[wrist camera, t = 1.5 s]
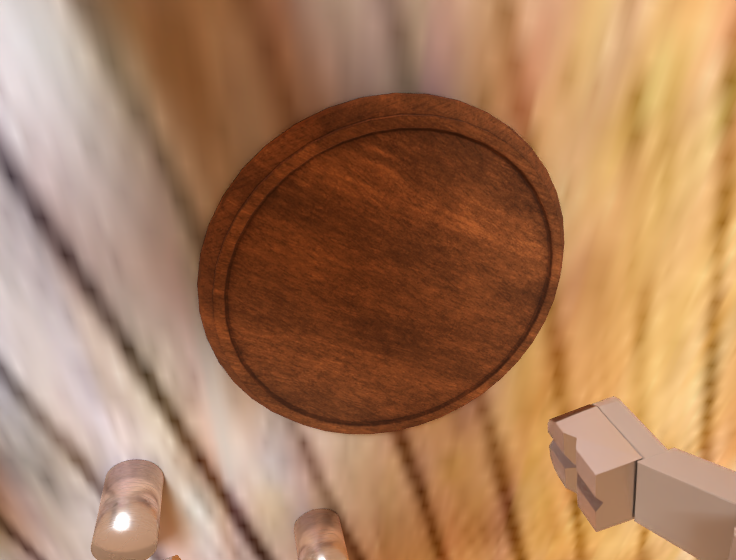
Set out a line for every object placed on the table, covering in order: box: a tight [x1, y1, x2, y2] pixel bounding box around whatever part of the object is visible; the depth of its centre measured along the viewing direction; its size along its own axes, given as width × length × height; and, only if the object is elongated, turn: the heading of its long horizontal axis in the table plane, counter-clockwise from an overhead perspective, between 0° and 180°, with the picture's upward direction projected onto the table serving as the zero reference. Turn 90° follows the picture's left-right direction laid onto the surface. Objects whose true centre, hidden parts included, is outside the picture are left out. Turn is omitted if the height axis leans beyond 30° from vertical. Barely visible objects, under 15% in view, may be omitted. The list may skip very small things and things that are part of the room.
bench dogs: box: [91, 460, 349, 560], centre depth 53 cm, size 5×25×7 cm, turn 55°
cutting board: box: [197, 93, 564, 434], centre depth 47 cm, size 32×32×3 cm
